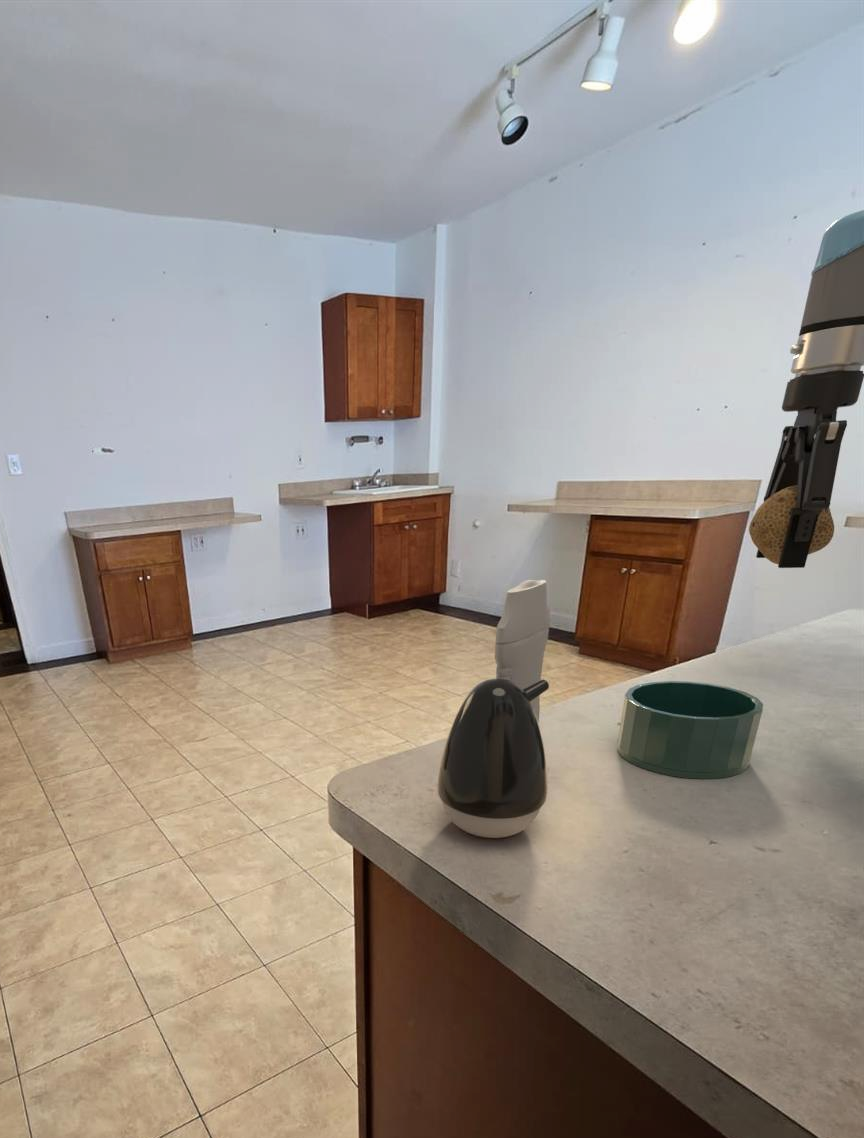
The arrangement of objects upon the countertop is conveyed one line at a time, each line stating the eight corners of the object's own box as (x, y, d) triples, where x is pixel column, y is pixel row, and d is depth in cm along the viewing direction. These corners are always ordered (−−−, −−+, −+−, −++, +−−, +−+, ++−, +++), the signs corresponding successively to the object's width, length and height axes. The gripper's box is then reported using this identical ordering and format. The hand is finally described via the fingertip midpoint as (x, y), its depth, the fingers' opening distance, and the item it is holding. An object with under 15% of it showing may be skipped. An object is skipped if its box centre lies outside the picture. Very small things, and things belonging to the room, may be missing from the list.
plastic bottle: (516, 756, 78) (532, 571, 69) (548, 764, 76) (570, 573, 66) (471, 786, 72) (482, 587, 63) (505, 797, 69) (522, 590, 60)
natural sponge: (730, 560, 93) (746, 486, 89) (800, 558, 91) (820, 482, 87) (756, 569, 85) (775, 488, 81) (834, 567, 83) (857, 483, 79)
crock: (729, 736, 79) (742, 682, 76) (765, 783, 68) (782, 722, 65) (610, 731, 83) (618, 679, 80) (625, 774, 72) (635, 716, 69)
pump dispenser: (567, 838, 61) (587, 685, 54) (470, 861, 58) (479, 704, 52) (505, 793, 70) (515, 658, 63) (419, 812, 67) (421, 673, 61)
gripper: (763, 384, 89) (726, 552, 98) (823, 365, 70) (771, 575, 80) (828, 378, 86) (784, 551, 96) (909, 357, 68) (844, 574, 77)
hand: (778, 562), depth 88 cm, fingers closed on natural sponge, 9 cm apart
